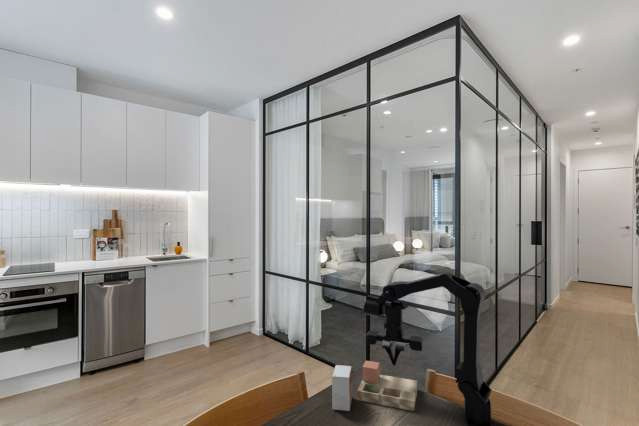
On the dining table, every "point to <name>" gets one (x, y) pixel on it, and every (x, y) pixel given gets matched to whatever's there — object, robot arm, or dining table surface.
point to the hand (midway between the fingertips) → (394, 365)
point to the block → (371, 372)
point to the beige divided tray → (389, 392)
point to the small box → (342, 388)
